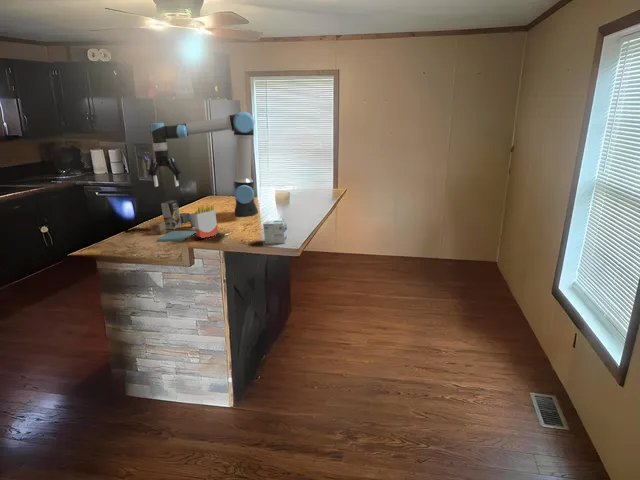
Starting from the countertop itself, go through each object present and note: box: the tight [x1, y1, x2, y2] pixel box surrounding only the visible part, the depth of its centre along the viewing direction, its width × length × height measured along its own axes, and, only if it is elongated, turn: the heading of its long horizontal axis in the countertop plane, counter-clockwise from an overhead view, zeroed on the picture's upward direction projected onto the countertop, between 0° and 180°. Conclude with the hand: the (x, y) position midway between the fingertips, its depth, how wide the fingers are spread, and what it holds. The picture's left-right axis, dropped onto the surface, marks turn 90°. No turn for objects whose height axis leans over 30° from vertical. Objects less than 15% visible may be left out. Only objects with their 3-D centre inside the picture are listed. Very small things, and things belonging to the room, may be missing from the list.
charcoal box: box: [180, 212, 191, 224], centre depth 278 cm, size 6×8×5 cm
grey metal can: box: [189, 212, 195, 228], centre depth 263 cm, size 6×6×8 cm
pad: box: [157, 230, 196, 242], centre depth 245 cm, size 16×16×1 cm
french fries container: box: [194, 204, 219, 239], centre depth 237 cm, size 5×11×18 cm, turn 133°
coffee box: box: [160, 199, 183, 230], centre depth 265 cm, size 9×6×16 cm
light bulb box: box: [262, 219, 289, 245], centre depth 222 cm, size 11×7×11 cm, turn 81°
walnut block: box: [149, 221, 167, 236], centre depth 255 cm, size 6×6×6 cm
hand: (166, 186), depth 260 cm, fingers open, 13 cm apart
